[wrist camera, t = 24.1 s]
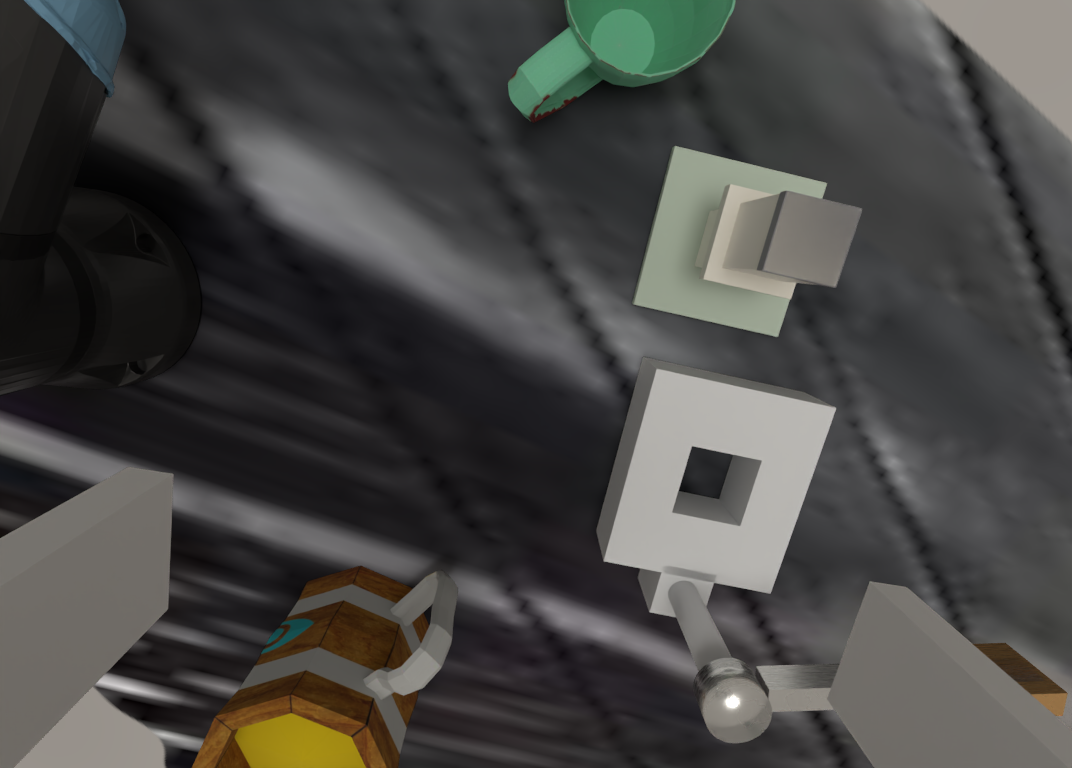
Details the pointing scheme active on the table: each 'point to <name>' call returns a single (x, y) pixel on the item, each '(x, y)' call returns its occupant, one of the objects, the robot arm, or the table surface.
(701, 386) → the socket
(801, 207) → the plug
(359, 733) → the mug
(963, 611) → the table surface
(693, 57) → the mug
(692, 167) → the mat
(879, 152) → the table surface
